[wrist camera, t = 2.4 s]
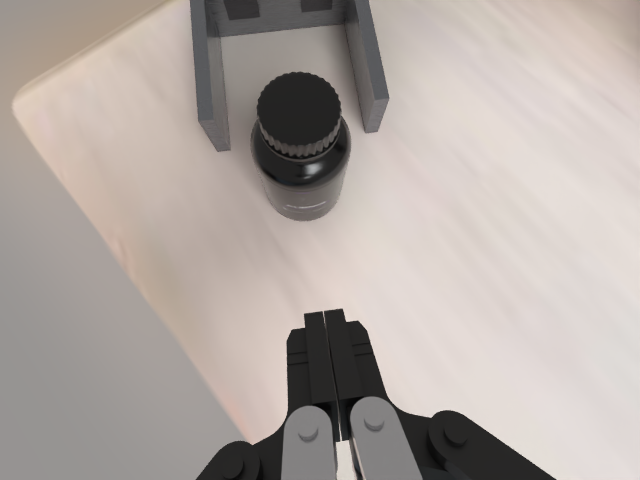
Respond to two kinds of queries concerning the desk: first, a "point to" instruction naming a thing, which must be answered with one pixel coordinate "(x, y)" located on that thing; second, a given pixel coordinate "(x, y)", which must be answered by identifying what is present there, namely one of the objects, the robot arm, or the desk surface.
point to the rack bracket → (274, 15)
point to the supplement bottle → (301, 145)
